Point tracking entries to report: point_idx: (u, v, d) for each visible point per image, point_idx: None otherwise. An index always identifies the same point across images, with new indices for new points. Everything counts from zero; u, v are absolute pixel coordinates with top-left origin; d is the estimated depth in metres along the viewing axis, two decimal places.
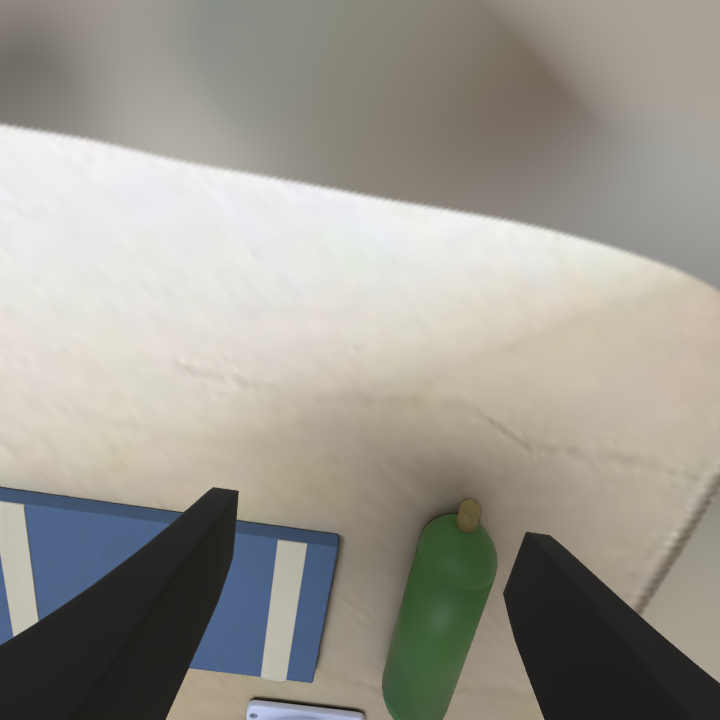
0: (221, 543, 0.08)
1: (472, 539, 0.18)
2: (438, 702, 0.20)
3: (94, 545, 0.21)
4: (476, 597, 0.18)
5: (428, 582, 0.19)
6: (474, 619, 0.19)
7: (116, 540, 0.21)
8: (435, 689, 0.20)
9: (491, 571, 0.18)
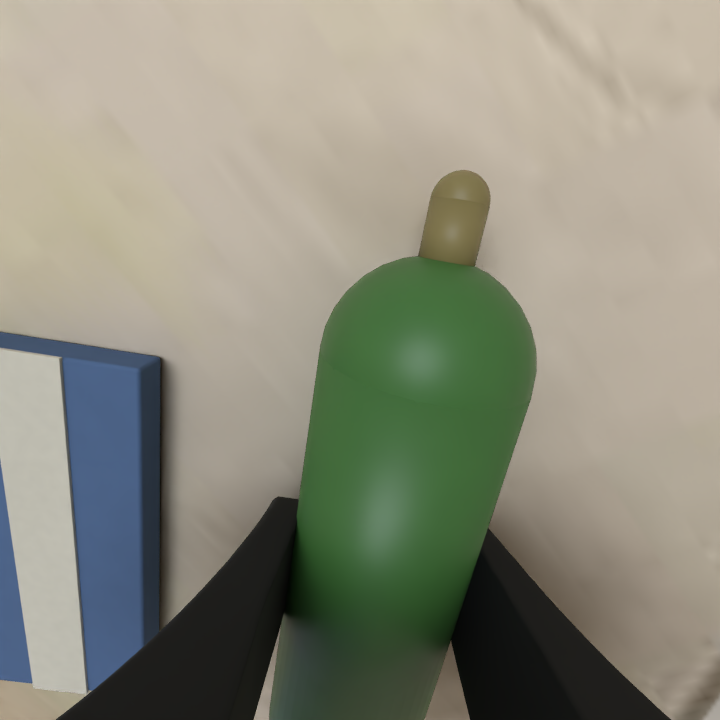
0: (292, 553, 0.08)
1: (464, 272, 0.06)
2: None
3: None
4: (477, 440, 0.06)
5: (335, 409, 0.06)
6: (470, 521, 0.06)
7: None
8: None
9: (523, 362, 0.06)
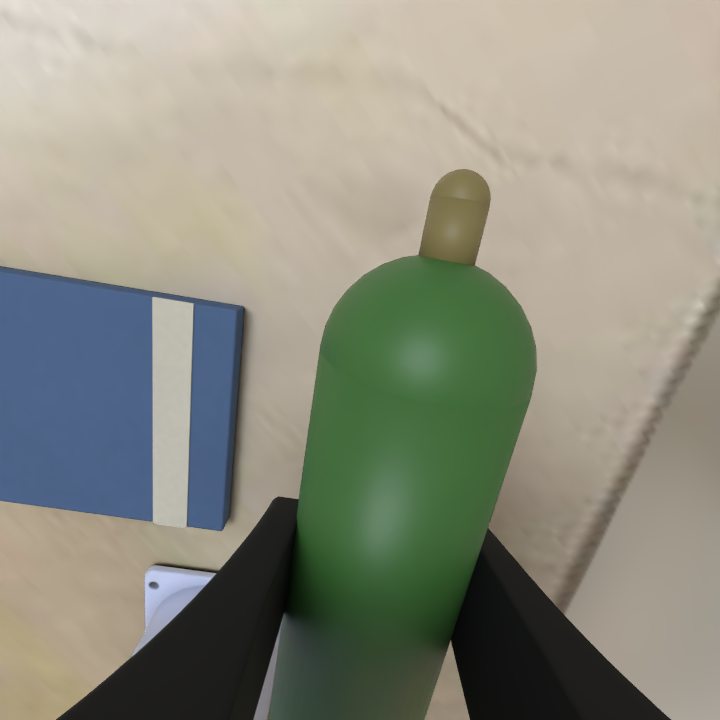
0: (292, 553, 0.08)
1: (464, 271, 0.06)
2: None
3: None
4: (477, 439, 0.06)
5: (335, 408, 0.06)
6: (470, 520, 0.06)
7: None
8: (370, 719, 0.08)
9: (523, 361, 0.06)
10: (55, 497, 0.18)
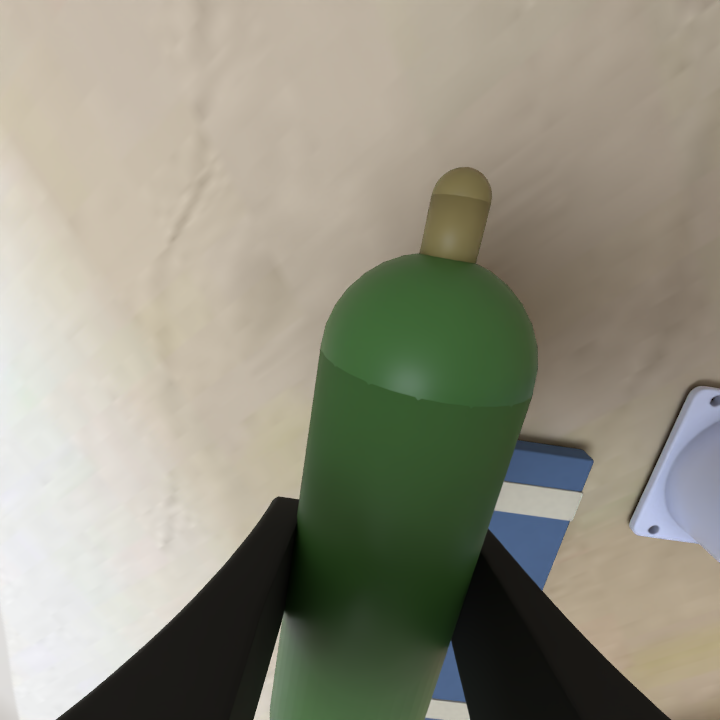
0: (292, 553, 0.08)
1: (466, 269, 0.06)
2: None
3: None
4: (478, 437, 0.06)
5: (336, 406, 0.06)
6: (471, 518, 0.06)
7: None
8: (370, 718, 0.08)
9: (525, 359, 0.06)
10: None
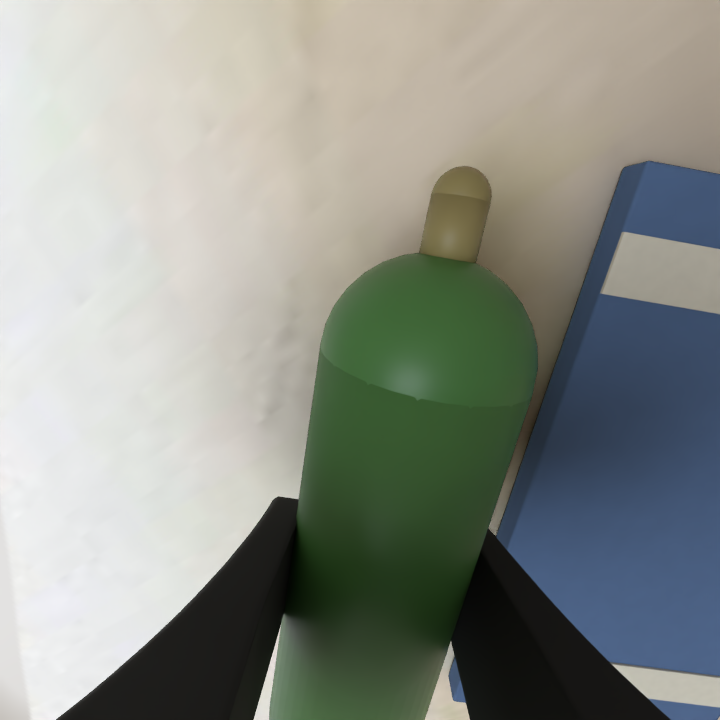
0: None
1: (465, 268, 0.06)
2: None
3: (557, 581, 0.13)
4: (478, 437, 0.06)
5: (335, 406, 0.06)
6: (472, 519, 0.06)
7: (553, 552, 0.13)
8: (370, 719, 0.08)
9: (524, 359, 0.06)
10: None
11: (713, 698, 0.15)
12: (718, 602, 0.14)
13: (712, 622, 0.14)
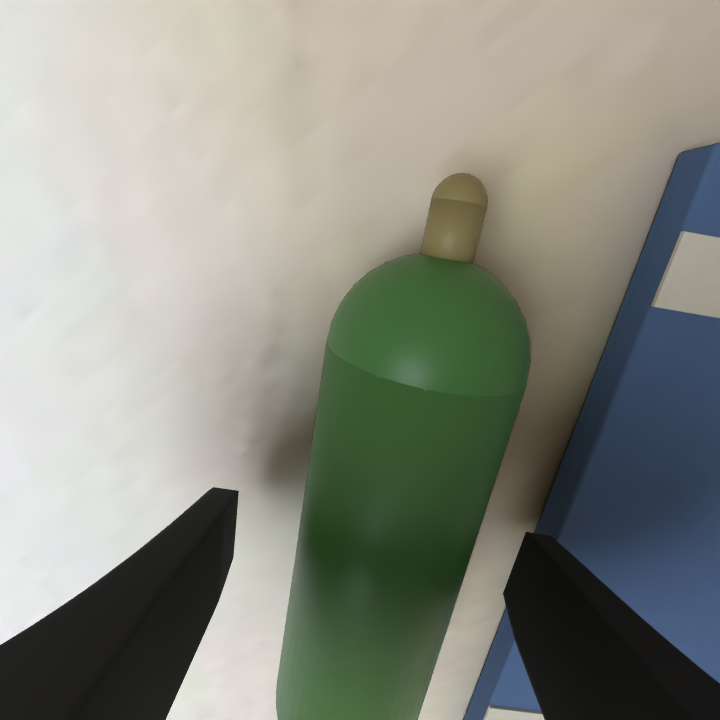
0: (221, 543, 0.08)
1: (465, 269, 0.07)
2: None
3: None
4: (479, 424, 0.06)
5: (345, 399, 0.07)
6: (472, 500, 0.07)
7: None
8: (378, 693, 0.08)
9: (520, 352, 0.06)
10: None
11: None
12: None
13: None
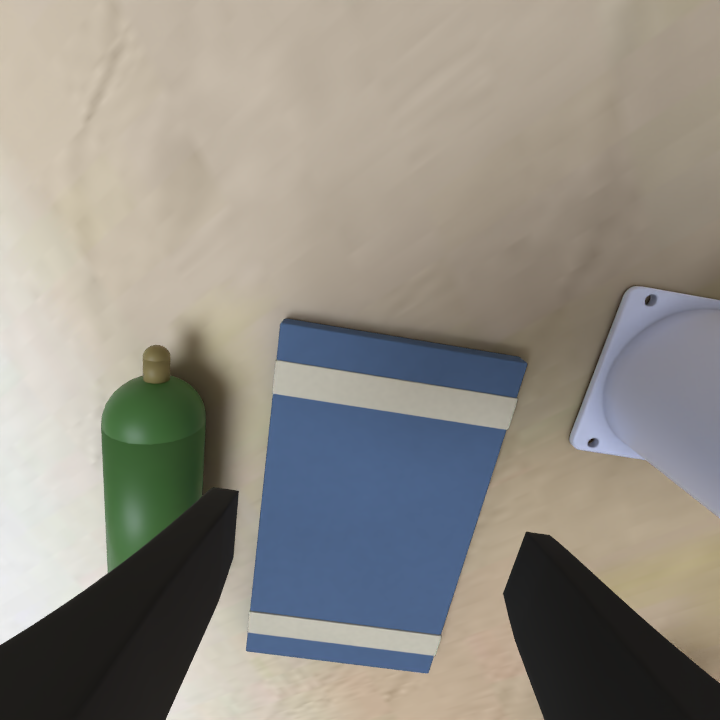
0: (221, 543, 0.08)
1: (154, 388, 0.15)
2: None
3: (294, 567, 0.20)
4: (158, 454, 0.15)
5: (105, 446, 0.15)
6: (169, 486, 0.16)
7: (286, 548, 0.20)
8: None
9: (177, 423, 0.15)
10: (468, 507, 0.19)
11: (421, 648, 0.22)
12: (404, 581, 0.21)
13: (404, 594, 0.21)
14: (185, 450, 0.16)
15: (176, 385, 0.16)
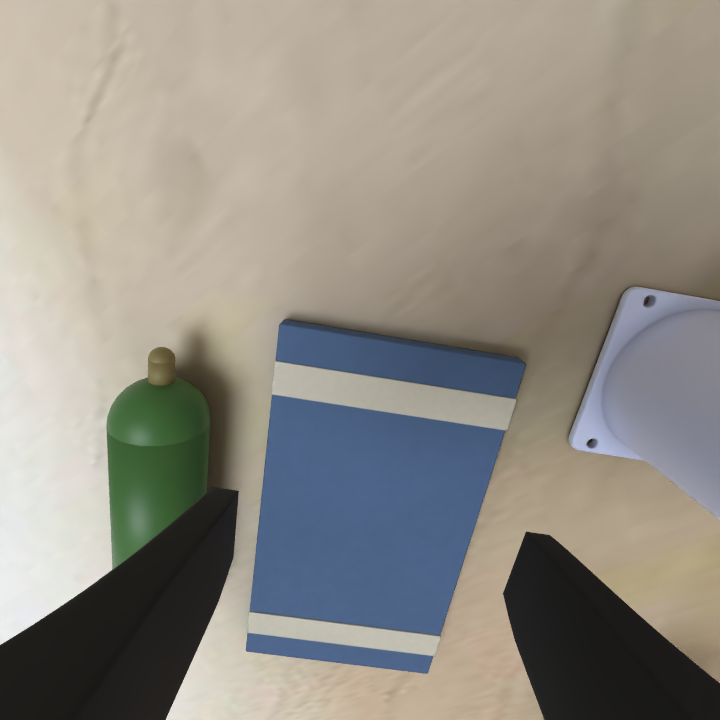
0: (221, 543, 0.08)
1: (162, 390, 0.15)
2: None
3: (294, 567, 0.20)
4: (170, 455, 0.15)
5: (113, 450, 0.15)
6: (180, 485, 0.16)
7: (286, 548, 0.20)
8: None
9: (188, 423, 0.16)
10: (467, 507, 0.19)
11: (420, 649, 0.22)
12: (403, 581, 0.21)
13: (403, 595, 0.21)
14: (195, 449, 0.16)
15: (182, 386, 0.16)
